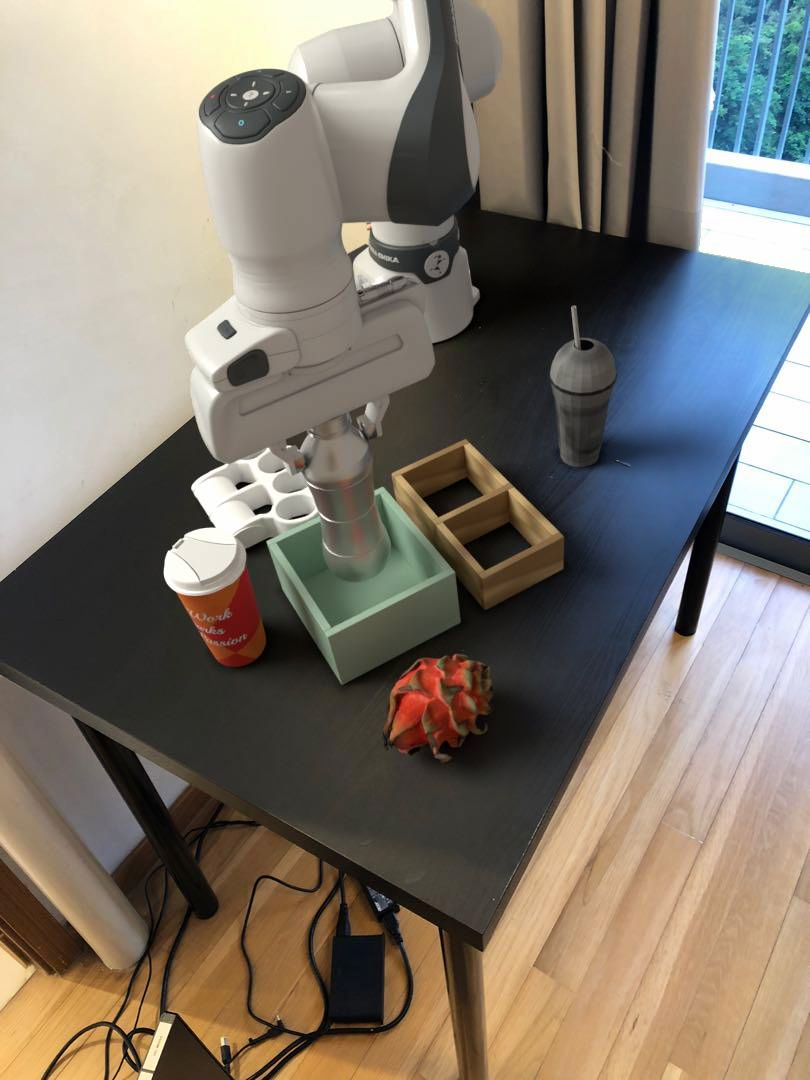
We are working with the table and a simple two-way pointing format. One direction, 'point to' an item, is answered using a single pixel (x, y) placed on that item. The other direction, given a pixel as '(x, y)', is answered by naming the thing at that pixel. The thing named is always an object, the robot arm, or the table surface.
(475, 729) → the dragon fruit
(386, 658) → the open storage box
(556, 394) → the beverage cup
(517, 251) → the table surface
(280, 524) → the knuckle duster
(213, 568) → the paper cup
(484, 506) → the rack
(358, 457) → the silver metal bottle
